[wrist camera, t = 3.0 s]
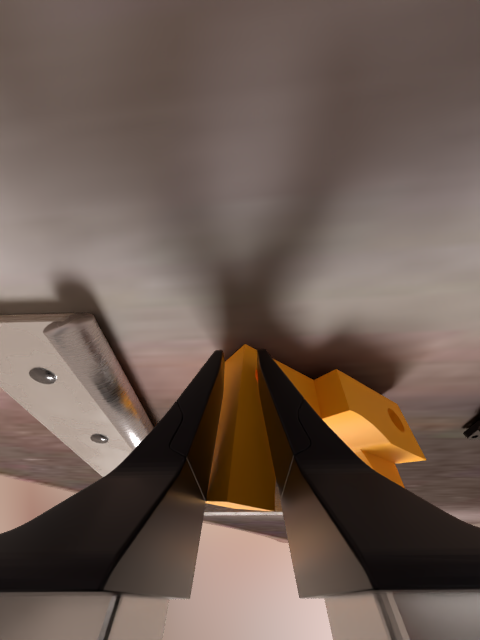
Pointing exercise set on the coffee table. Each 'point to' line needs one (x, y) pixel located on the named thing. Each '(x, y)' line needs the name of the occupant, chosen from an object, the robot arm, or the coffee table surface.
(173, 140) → the coffee table surface
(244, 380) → the pipe clamp
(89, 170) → the coffee table surface
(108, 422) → the hinge bed
